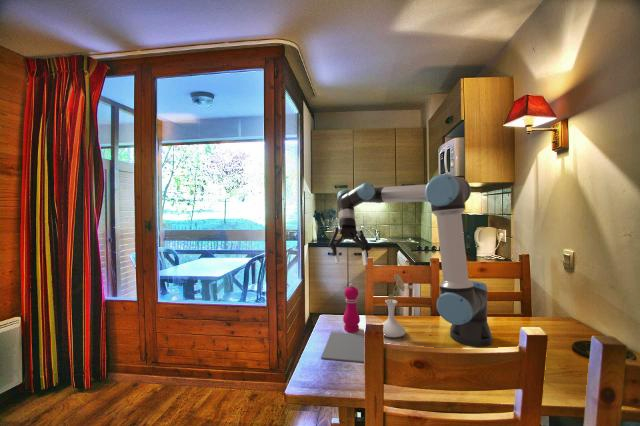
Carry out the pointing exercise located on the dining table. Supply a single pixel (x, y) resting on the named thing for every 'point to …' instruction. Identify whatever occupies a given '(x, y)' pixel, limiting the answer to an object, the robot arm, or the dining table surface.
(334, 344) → the mat
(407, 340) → the dining table surface
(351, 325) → the pepper mill
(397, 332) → the flower in vase
